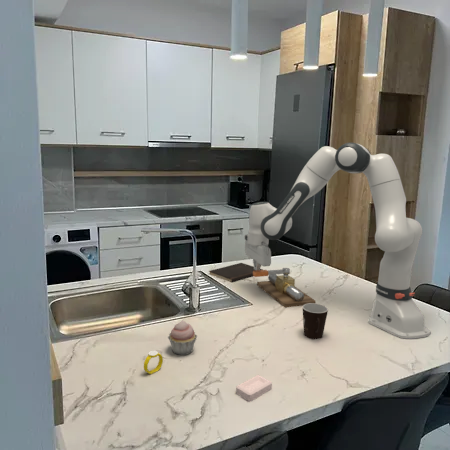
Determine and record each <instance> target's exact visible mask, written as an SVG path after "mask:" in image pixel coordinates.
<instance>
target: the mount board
mask: <svg viewBox="0 0 450 450" xmlns="http://www.w3.org/2000/svg"><path fill="white" fill-rule="evenodd" d="M256 285H257V286H258V287H259V288H260V289H261V290H262V291H264V292H265V293H267V294H268V295H269V296H270V297H271V298H273V300H275V301H276V302H278V304H280V305H281V306H282V307H283V308H292V307H293V308H294V307H303V305H305V304H308V303H316V302H317V300H315V299H314V298H313V297H311V296H310V295H308V294H306V293H305V292H304V291H302V290H300V289H299V288H297V287H296V286H295V288H296V289H298V290H299V291H301V292H302V293H303V294H304V299H303V300H302V301H300V302H298V301H296V300H295V299H294V298H292V297H291V296H290V295H286V294H282V293H281V292H279V291H278V290H277V289H276V286H275V284H273V283H272V282H271V281H269V280H264V281H257V282H256ZM316 304H317V303H316Z"/></svg>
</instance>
